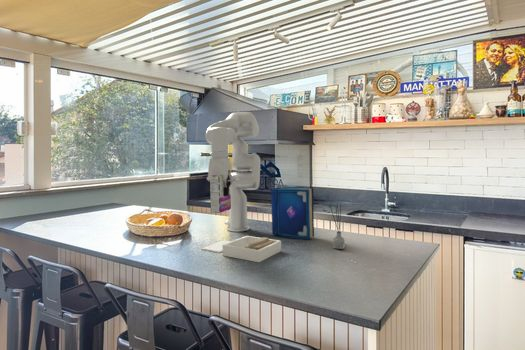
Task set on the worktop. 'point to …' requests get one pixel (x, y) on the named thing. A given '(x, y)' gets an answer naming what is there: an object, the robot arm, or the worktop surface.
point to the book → (292, 212)
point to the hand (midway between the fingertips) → (220, 195)
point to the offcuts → (260, 243)
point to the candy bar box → (218, 195)
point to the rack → (243, 252)
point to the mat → (216, 247)
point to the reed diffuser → (338, 234)
